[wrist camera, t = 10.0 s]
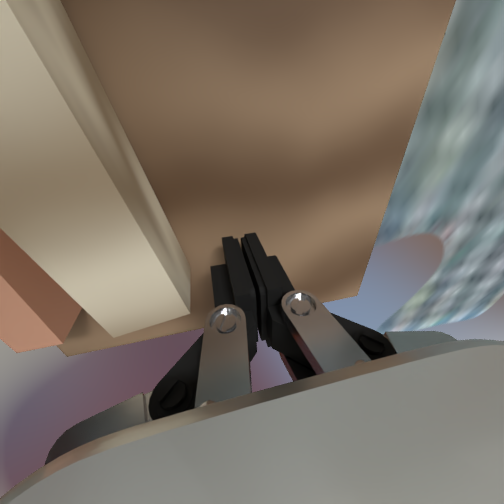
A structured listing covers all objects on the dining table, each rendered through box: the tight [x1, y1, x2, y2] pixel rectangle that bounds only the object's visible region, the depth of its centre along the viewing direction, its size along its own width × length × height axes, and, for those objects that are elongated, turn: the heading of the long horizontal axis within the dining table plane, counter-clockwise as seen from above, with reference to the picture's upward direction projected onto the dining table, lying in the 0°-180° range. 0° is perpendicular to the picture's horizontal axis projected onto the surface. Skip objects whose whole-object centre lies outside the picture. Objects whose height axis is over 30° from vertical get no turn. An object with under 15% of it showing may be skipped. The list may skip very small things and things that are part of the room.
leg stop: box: [0, 228, 82, 353], centre depth 9 cm, size 6×2×2 cm, turn 2°
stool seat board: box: [56, 0, 456, 357], centre depth 10 cm, size 20×20×2 cm
